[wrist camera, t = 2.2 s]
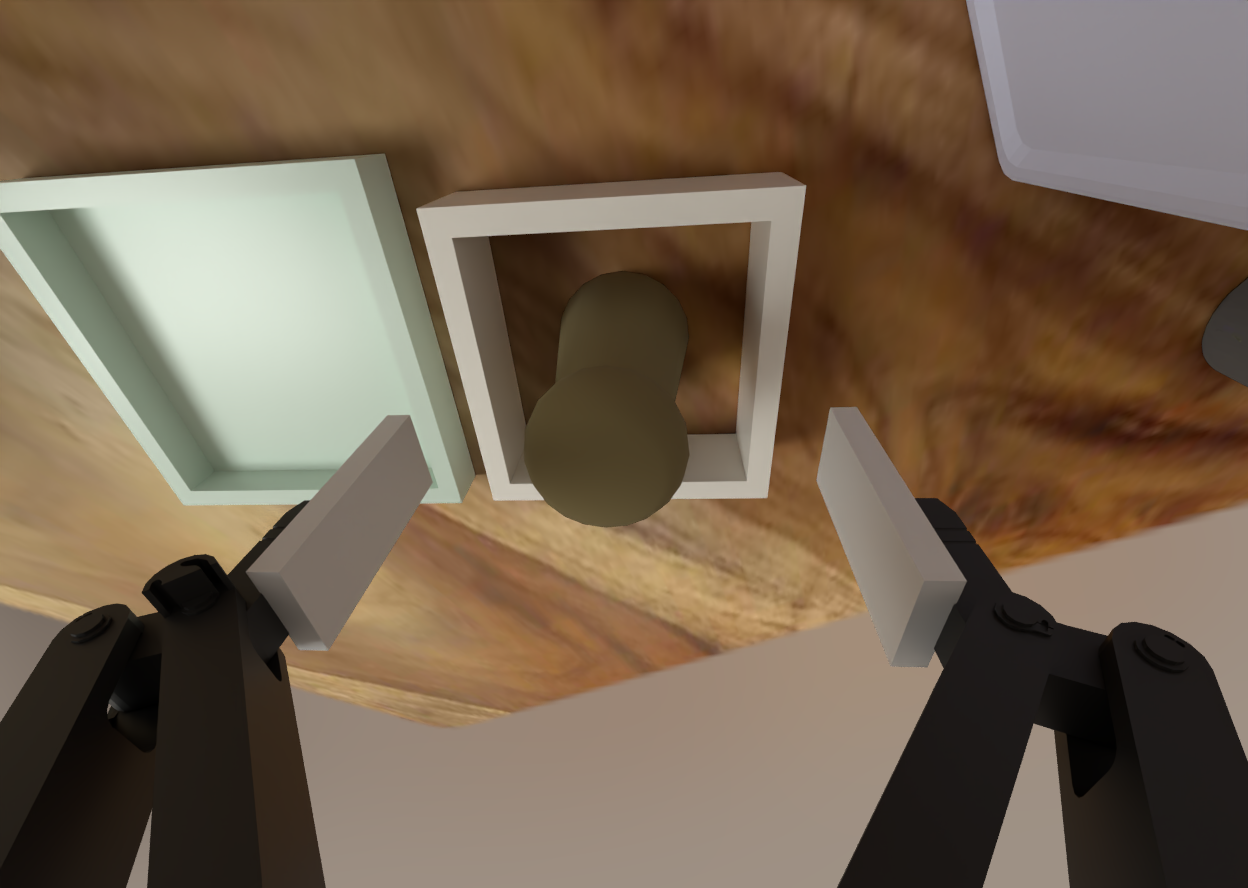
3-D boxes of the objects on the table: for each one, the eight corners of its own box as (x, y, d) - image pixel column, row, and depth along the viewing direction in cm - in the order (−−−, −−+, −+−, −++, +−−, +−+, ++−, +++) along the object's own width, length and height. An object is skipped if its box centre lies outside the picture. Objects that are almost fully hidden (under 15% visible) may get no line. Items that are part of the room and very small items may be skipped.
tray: (215, 478, 30) (183, 505, 28) (21, 178, 21) (-45, 186, 19) (475, 475, 29) (461, 503, 27) (384, 153, 20) (354, 158, 18)
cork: (702, 375, 25) (728, 535, 15) (587, 406, 26) (548, 571, 17) (668, 251, 21) (673, 362, 12) (539, 295, 23) (458, 423, 14)
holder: (513, 453, 28) (493, 500, 24) (455, 191, 21) (416, 208, 17) (753, 449, 27) (767, 498, 23) (781, 171, 19) (806, 185, 16)
